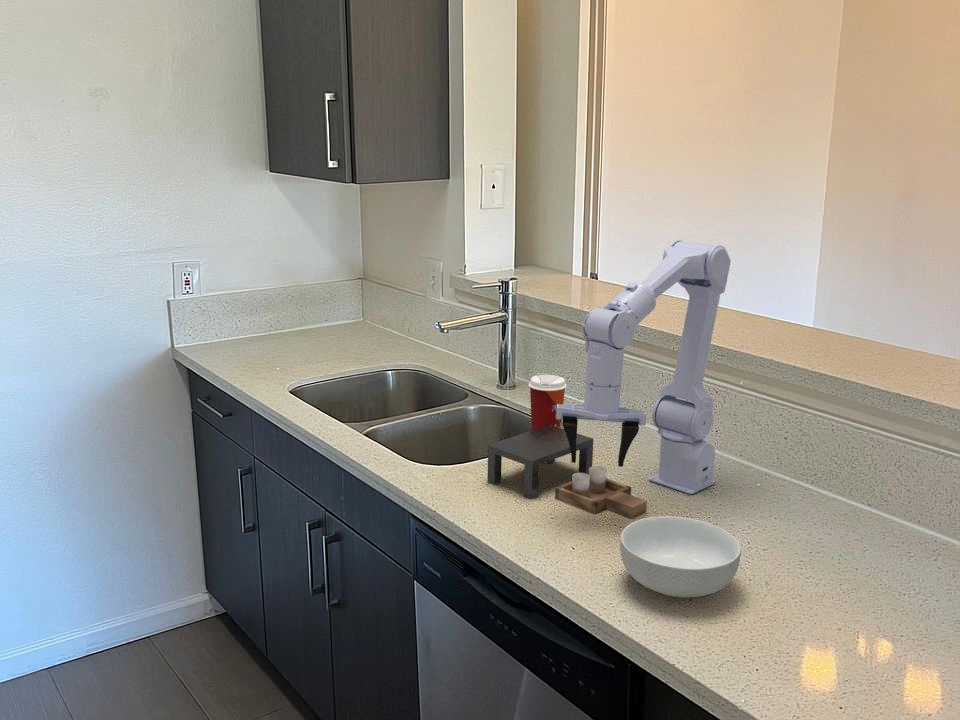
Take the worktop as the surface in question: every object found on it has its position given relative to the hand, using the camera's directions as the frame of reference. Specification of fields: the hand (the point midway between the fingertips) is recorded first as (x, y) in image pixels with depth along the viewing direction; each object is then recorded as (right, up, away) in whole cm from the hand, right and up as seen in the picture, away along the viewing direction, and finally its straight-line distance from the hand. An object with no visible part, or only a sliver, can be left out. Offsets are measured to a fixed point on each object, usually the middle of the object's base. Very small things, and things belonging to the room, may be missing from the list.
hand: (596, 462), depth 151 cm
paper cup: (-6, -1, +37) cm, 38 cm away
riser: (-8, -5, +19) cm, 22 cm away
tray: (+3, -8, +9) cm, 12 cm away
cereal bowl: (+9, -16, -19) cm, 26 cm away
